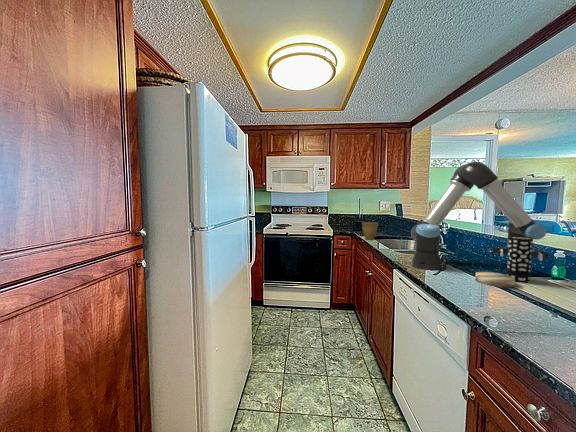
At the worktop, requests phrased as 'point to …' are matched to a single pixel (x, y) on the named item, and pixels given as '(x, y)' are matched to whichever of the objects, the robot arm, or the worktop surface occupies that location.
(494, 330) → the worktop surface
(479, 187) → the robot arm
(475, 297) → the worktop surface
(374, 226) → the plant pot
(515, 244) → the spotted tube
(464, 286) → the worktop surface
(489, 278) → the maple plinth
